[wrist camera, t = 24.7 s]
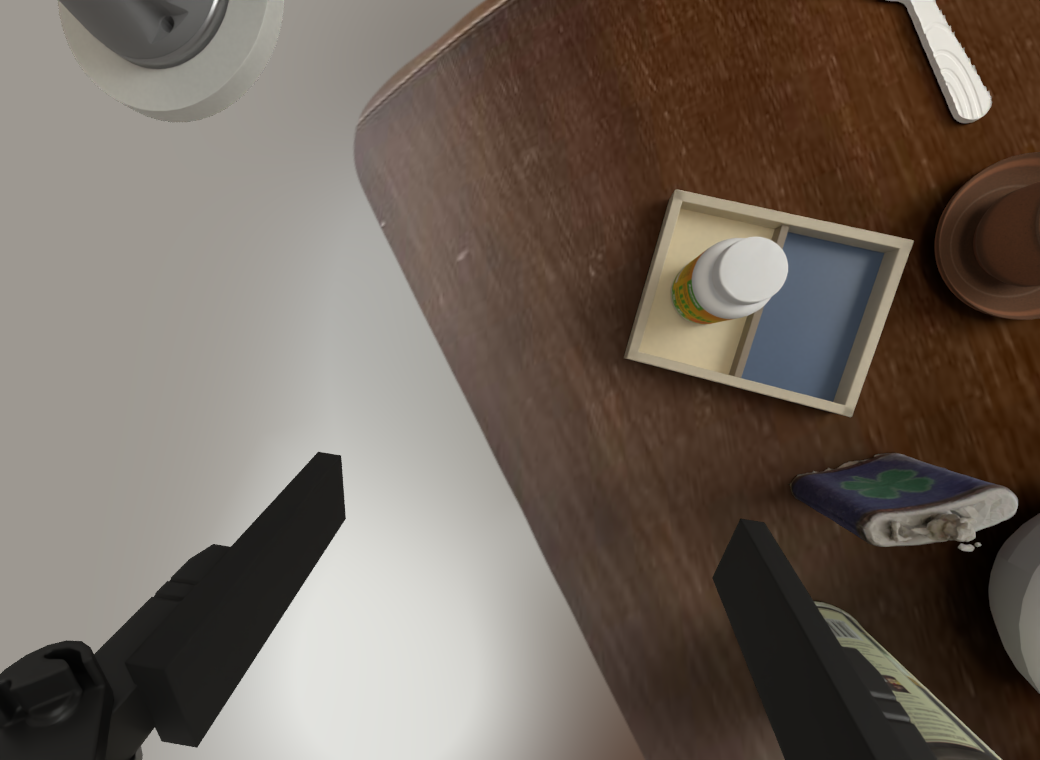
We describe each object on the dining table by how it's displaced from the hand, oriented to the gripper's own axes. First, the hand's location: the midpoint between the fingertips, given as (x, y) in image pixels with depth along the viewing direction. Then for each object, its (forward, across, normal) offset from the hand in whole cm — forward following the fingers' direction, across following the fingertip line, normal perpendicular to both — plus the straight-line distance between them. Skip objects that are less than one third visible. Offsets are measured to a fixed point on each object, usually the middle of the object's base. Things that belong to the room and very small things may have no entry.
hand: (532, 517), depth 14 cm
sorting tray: (+25, +17, +3) cm, 30 cm away
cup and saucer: (+26, +34, +10) cm, 44 cm away
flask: (+20, +27, -9) cm, 34 cm away
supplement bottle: (+25, +12, +4) cm, 28 cm away
